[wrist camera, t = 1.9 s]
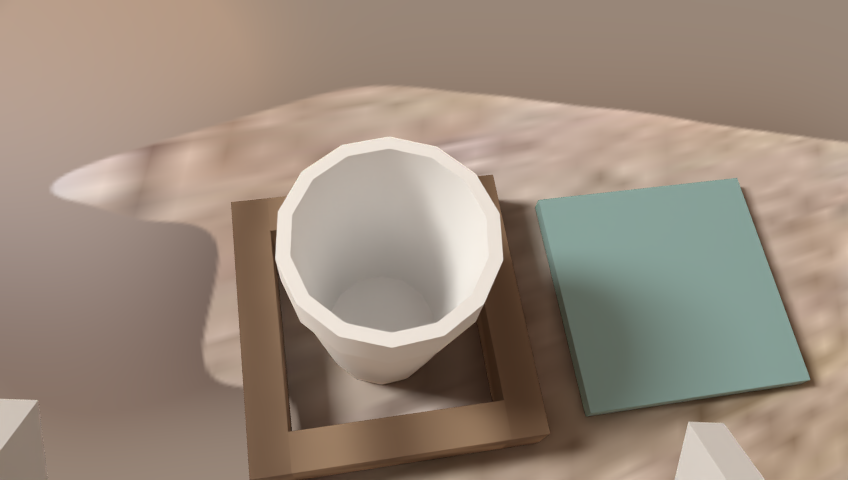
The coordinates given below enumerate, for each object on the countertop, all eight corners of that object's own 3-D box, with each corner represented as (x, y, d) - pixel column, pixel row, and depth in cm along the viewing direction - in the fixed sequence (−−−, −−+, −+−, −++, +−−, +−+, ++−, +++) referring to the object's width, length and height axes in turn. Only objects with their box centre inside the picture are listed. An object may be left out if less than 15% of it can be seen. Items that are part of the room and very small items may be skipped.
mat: (729, 185, 49) (736, 178, 48) (801, 383, 44) (810, 379, 43) (535, 207, 47) (538, 200, 46) (585, 416, 42) (590, 413, 41)
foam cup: (440, 240, 46) (470, 122, 34) (483, 388, 42) (532, 315, 30) (283, 272, 44) (256, 160, 32) (314, 429, 40) (296, 369, 29)
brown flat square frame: (485, 198, 47) (492, 174, 44) (537, 442, 41) (550, 433, 38) (238, 224, 45) (231, 202, 42) (257, 486, 39) (249, 479, 36)
